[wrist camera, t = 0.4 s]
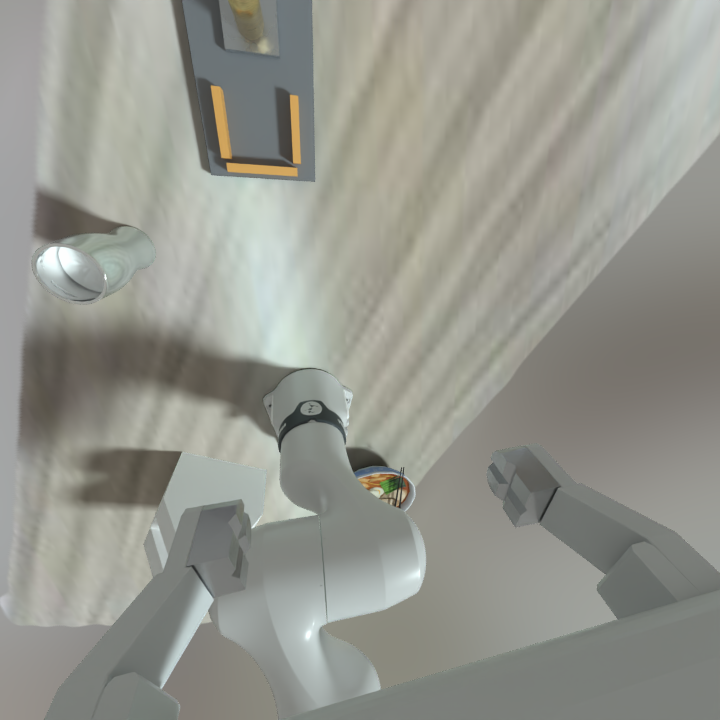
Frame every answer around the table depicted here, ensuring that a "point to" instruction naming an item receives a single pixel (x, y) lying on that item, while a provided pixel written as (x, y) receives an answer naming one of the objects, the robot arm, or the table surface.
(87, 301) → the beer glass
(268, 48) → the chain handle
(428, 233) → the table surface
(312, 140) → the rail board
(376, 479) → the ramen bowl
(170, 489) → the milk carton
